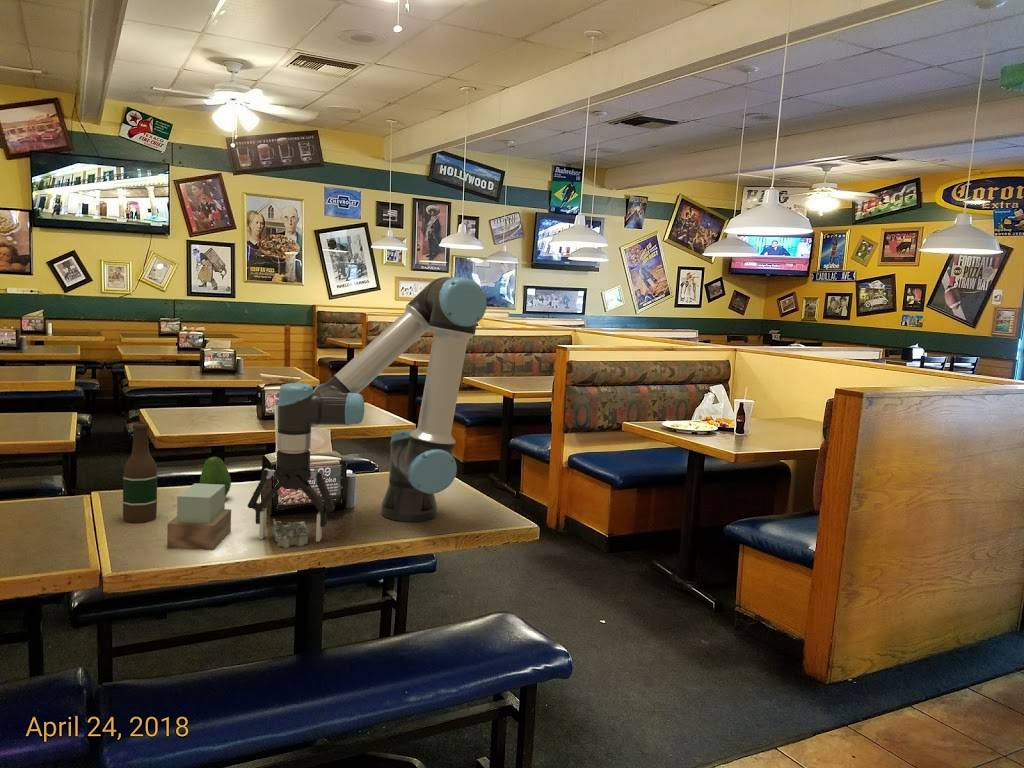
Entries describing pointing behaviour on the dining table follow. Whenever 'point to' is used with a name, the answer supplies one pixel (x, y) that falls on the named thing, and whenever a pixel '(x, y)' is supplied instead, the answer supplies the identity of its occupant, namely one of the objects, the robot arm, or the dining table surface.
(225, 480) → the fruit
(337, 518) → the dining table surface
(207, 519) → the tower top block
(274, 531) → the egg carton
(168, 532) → the tower base block
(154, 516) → the beer bottle
